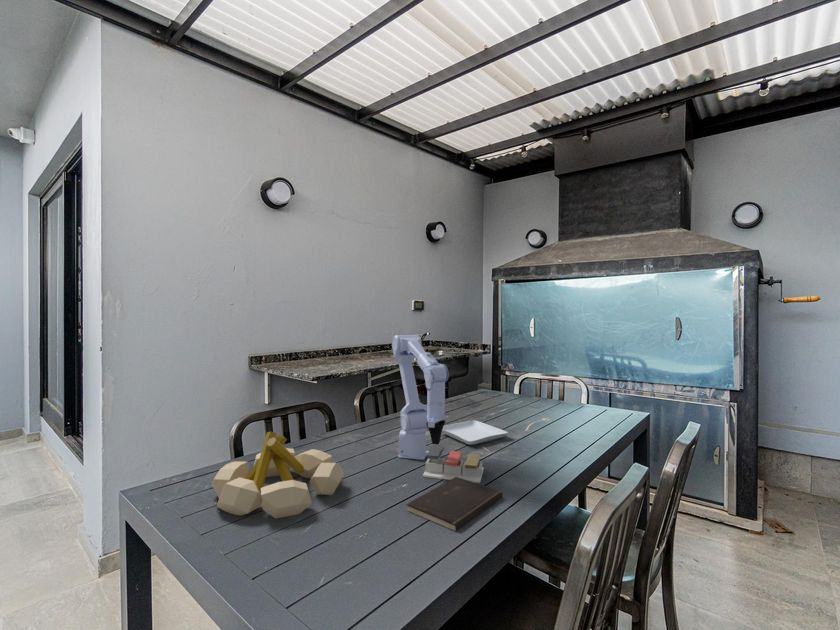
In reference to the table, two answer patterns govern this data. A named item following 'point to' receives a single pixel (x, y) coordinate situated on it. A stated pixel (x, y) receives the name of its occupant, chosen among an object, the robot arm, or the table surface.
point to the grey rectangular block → (435, 453)
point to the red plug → (453, 458)
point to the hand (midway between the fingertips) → (435, 443)
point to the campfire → (282, 497)
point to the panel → (453, 471)
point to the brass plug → (472, 461)
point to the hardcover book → (455, 503)
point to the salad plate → (473, 432)
